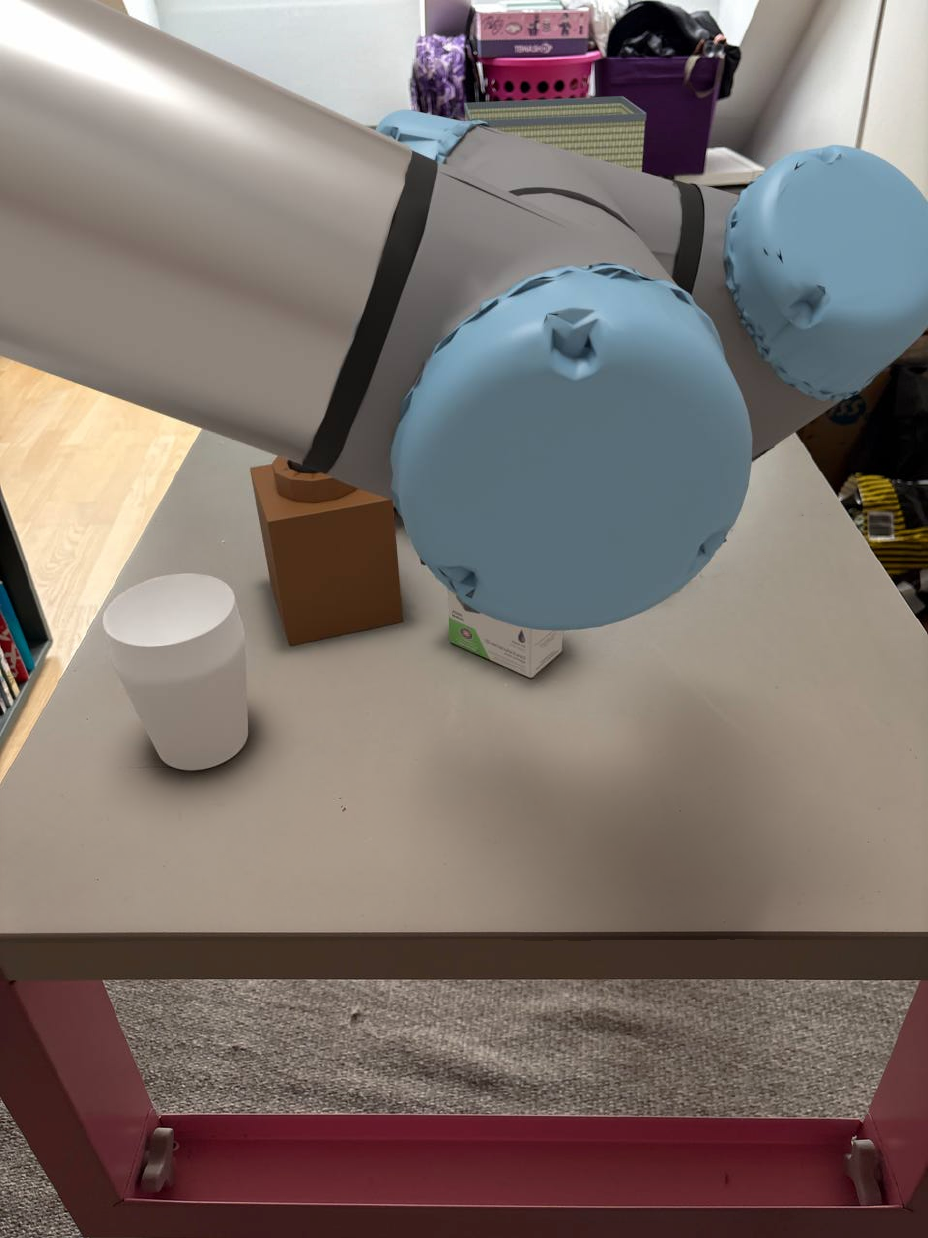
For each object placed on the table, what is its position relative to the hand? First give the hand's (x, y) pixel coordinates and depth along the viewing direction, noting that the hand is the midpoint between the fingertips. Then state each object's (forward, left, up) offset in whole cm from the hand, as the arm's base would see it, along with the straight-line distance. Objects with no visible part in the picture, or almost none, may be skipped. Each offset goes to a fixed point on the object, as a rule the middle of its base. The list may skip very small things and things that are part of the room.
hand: (541, 547), depth 65 cm
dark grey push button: (-12, +19, -1) cm, 23 cm away
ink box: (0, +8, -14) cm, 16 cm away
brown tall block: (-12, +19, -14) cm, 27 cm away
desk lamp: (+24, +57, -14) cm, 64 cm away
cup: (-25, +5, -14) cm, 29 cm away
